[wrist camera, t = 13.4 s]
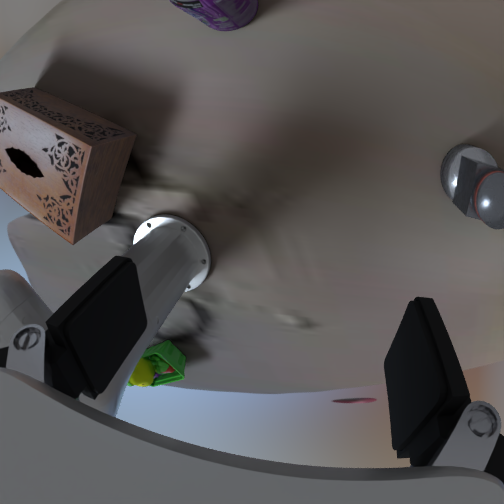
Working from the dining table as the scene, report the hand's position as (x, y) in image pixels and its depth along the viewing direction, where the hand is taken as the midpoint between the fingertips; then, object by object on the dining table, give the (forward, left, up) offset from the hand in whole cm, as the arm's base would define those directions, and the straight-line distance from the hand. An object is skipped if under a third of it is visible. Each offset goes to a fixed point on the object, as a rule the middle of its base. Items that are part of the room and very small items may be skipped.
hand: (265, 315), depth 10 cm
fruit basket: (-45, +1, -29) cm, 53 cm away
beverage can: (+12, +18, -28) cm, 36 cm away
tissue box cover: (-17, +33, -29) cm, 47 cm away
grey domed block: (+12, -18, -25) cm, 33 cm away
